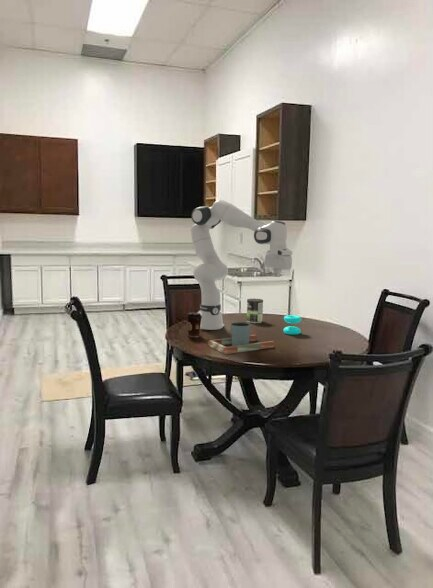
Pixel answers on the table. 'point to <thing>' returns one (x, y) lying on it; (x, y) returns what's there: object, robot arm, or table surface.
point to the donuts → (291, 329)
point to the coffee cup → (193, 324)
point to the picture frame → (219, 344)
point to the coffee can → (254, 310)
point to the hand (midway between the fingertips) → (277, 276)
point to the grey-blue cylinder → (240, 333)
